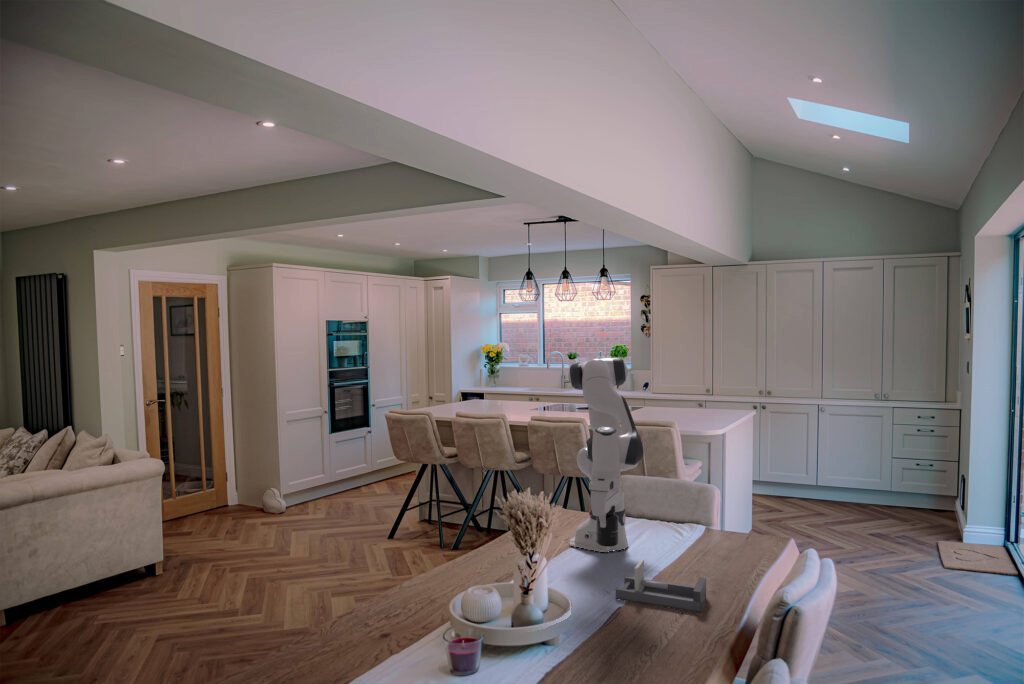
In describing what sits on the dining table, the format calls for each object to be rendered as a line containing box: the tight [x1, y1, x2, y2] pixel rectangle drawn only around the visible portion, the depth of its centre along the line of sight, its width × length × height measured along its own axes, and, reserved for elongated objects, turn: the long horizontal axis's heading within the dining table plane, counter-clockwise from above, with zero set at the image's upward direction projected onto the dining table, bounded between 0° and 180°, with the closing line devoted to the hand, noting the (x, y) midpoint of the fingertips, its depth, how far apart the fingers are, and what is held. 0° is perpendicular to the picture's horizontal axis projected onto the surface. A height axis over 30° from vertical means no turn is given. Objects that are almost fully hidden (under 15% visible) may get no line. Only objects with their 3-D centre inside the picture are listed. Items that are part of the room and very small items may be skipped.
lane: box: [615, 576, 707, 614], centre depth 194 cm, size 25×11×6 cm, turn 65°
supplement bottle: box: [597, 505, 618, 547], centre depth 201 cm, size 7×7×12 cm
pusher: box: [634, 559, 668, 592], centre depth 195 cm, size 9×8×9 cm
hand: (607, 523), depth 201 cm, fingers closed on supplement bottle, 7 cm apart
